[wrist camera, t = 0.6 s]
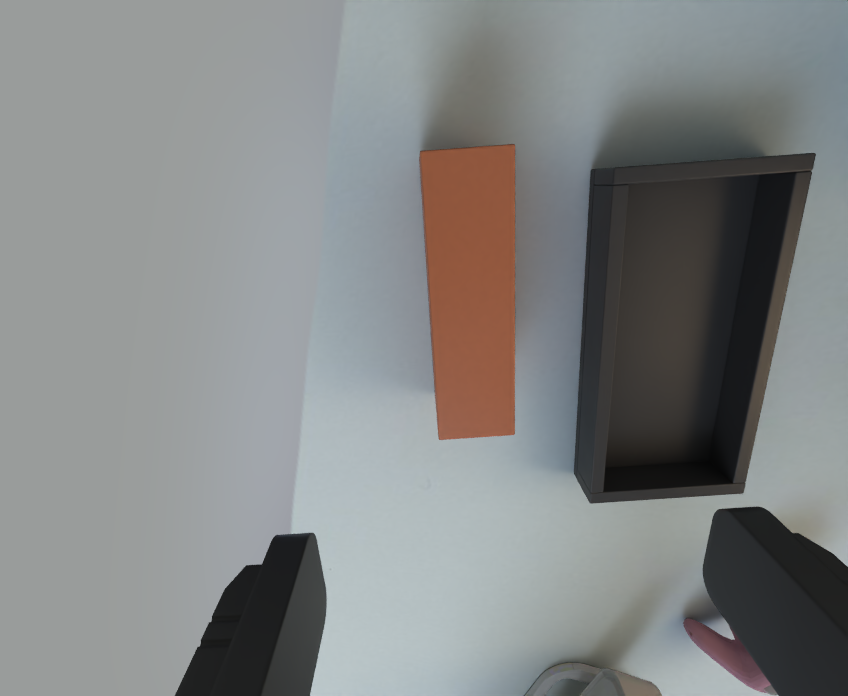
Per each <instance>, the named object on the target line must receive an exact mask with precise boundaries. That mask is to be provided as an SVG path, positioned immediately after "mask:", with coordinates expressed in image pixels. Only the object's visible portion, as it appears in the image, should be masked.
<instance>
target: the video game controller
mask: <svg viewBox="0 0 848 696" xmlns="http://www.w3.org/2000/svg"><path fill="white" fill-rule="evenodd" d="M683 624H684V628H685V630H686V632H687V633H688V635H689V636H690V638H691V639H692V641H693V642H694V643H695V644H696V645H697V646H698V647H699V648H700V649H702V650H703V651H704V652H705V653H706V654H708V655H709V656H710V657H711V658H712V659H714V660H715V661H716V662H717V663H719V664H720V665H721V666H722V667H724V668H725V669H726V670H727V671H729V672H730V673H731V674H732V675H734V676H735V677H736V678H737V679H739V680H740V681H741V682H743V683H744V684H746V685H747V686H749V687H751V688H753V689H755V690H757V691H760V692H764V693H768V694H771V695H778V694H777V693H776V691H775V690H774V688H773V687H772V685H771V684H770V683H769V681H768V680H767V678H766V677H765V675H764V674H763V673H762V671H761V670H760V668H759V667H758V666H757V664H756V663H755V661H754V660H753V658H752V657H751V656H750V654H749V653H748V651H747V650H746V648H745V647H744V646H743V644H742V643H741V641H740V640H739V638H738V637H737V636H736V634H735V633H734V631H733V630H732V628H731V627H730V629H731V631H732V633H733V635H734V638H735V640H731V639H728V638H726V637H723V636H722V635H720V634H718V633H717V632H715V631H714V630H712V629H710V628H709V627H707V626H706V625H704V624H702V623H700V622H698V621H696V620H693V619H689V618H686V619H685V620H684V622H683Z"/></svg>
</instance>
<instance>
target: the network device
mask: <svg viewBox="0 0 848 696" xmlns="http://www.w3.org/2000/svg"><path fill="white" fill-rule="evenodd" d="M562 679H574V680H577V681H581V682H584V683H587V684H588V686H587V687H586V688H585V689H584V690H583V692H582V693H581V694H580V695H579V696H662V695H661V693H660V691H659V689H658V688H657V687H656V686H655V685H654V684H653V683H652V682H649V681H646V680H643V679H640V678H637V677H634V676H631V675H627V674H624V673H621V672H618V671H615V670H612V669H609V668H604V669H598V668H595V667H592V666H589V665H586V664H581V663H564V664H560V665H556V666H554V667H552V668H550V669H548V670H547V671H545V672H544V673H543V674H542V675H541V676H540V677H539V678H538V679H537V681H536V682H535V683H534V685H533V686H532V687H531V688H530V690H529V691H528V692H527V694H526V695H525V696H545V695H546V693H547V692H548V691H549V690H550V688H551V687H552V686H553V685H554V684H555V683H556V682H557V681H559V680H562Z"/></svg>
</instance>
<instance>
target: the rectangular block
mask: <svg viewBox="0 0 848 696" xmlns="http://www.w3.org/2000/svg"><path fill="white" fill-rule="evenodd" d="M419 163H420V178H421V193H422V208H423V223H424V238H425V253H426V268H427V283H428V298H429V313H430V328H431V343H432V358H433V373H434V388H435V401H436V412H437V424H438V436H439V440H445V439H460V438H475V437H490V436H505V435H514V434H515V145H514V144H508V145H494V146H481V147H467V148H454V149H440V150H427V151H420V157H419Z"/></svg>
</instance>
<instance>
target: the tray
mask: <svg viewBox="0 0 848 696" xmlns="http://www.w3.org/2000/svg"><path fill="white" fill-rule="evenodd" d="M815 156H816V154H815V153H806V154H792V155H779V156H765V157H751V158H738V159H724V160H711V161H697V162H683V163H670V164H656V165H642V166H629V167H615V168H603V169H592V170H591V177H590V195H589V213H588V231H587V249H586V267H585V285H584V303H583V321H582V339H581V357H580V375H579V393H578V410H577V428H576V446H575V464H574V475H575V476H576V478H577V480H578V482H579V484H580V486H581V488H582V490H583V491H584V493H585V495H586V497H587V499H588V501H589V502H590V503H604V502H619V501H635V500H650V499H665V498H680V497H695V496H711V495H726V494H741V493H744V488H745V482H746V478H747V473H748V468H749V464H750V459H751V454H752V450H753V445H754V440H755V436H756V431H757V426H758V422H759V417H760V412H761V408H762V403H763V398H764V394H765V389H766V384H767V380H768V375H769V371H770V366H771V361H772V357H773V352H774V347H775V343H776V338H777V333H778V329H779V324H780V319H781V315H782V310H783V305H784V301H785V296H786V291H787V287H788V282H789V277H790V273H791V268H792V263H793V259H794V254H795V249H796V245H797V240H798V235H799V231H800V226H801V221H802V217H803V212H804V208H805V203H806V198H807V194H808V189H809V184H810V180H811V175H812V172H811V170H812V169H813V165H814V160H815Z"/></svg>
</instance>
